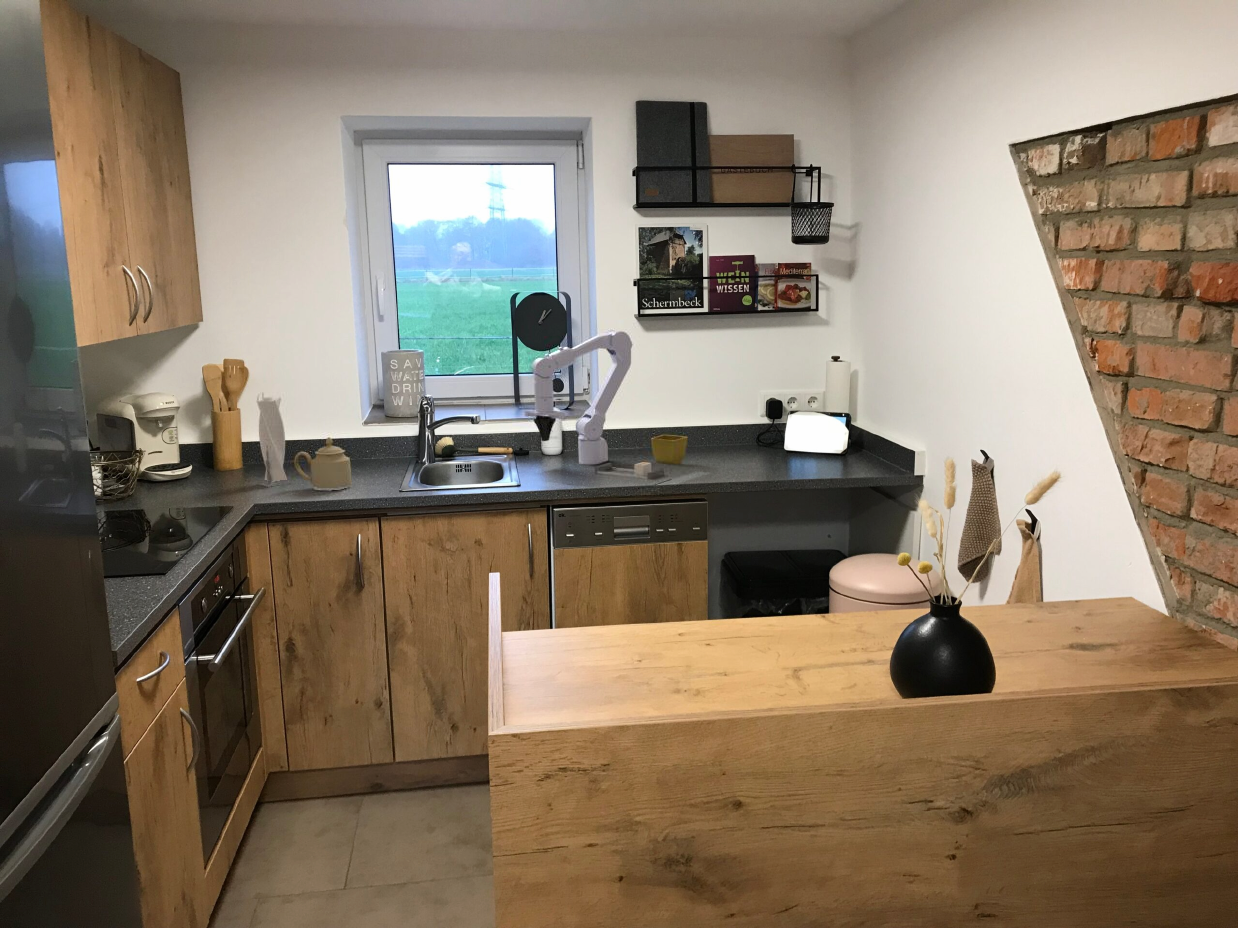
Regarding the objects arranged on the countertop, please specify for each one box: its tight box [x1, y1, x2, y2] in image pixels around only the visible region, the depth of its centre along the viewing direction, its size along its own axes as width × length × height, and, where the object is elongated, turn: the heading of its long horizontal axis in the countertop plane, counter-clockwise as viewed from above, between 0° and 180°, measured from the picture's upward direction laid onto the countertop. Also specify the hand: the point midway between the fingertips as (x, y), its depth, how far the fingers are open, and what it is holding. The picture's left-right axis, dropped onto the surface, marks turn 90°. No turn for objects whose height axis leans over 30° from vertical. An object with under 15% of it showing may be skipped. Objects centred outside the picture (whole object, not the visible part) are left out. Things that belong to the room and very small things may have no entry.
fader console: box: [594, 462, 672, 486], centre depth 287 cm, size 9×24×3 cm, turn 55°
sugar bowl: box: [294, 436, 352, 488], centre depth 282 cm, size 15×11×15 cm
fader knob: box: [633, 461, 652, 476], centre depth 284 cm, size 4×3×4 cm
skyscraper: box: [256, 391, 288, 484], centre depth 290 cm, size 8×8×28 cm
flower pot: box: [650, 434, 689, 466], centre depth 306 cm, size 9×9×9 cm
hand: (545, 440), depth 301 cm, fingers closed
